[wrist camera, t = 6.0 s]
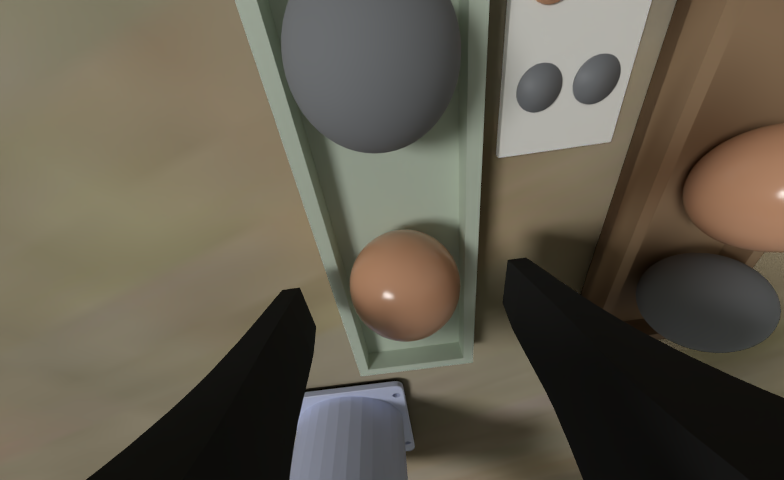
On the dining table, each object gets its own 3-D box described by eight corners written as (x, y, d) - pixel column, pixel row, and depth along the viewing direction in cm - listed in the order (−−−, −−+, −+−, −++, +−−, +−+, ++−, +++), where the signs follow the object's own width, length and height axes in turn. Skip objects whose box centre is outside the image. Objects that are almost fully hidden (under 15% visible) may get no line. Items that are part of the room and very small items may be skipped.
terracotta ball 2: (736, 208, 12) (879, 269, 8) (638, 221, 12) (740, 287, 9) (800, 102, 10) (1028, 128, 6) (678, 119, 10) (839, 155, 6)
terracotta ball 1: (447, 281, 13) (473, 358, 10) (362, 292, 13) (358, 372, 10) (445, 203, 11) (477, 268, 8) (343, 218, 11) (330, 289, 8)
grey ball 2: (683, 295, 15) (775, 367, 11) (604, 305, 15) (672, 379, 11) (723, 228, 12) (853, 293, 9) (630, 241, 12) (723, 310, 9)
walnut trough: (678, 312, 16) (704, 334, 15) (570, 325, 16) (587, 348, 15) (1034, -264, 6) (1205, -347, 5) (747, -214, 6) (839, -280, 5)
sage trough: (553, 327, 16) (567, 350, 15) (361, 351, 17) (360, 376, 15) (700, -206, 6) (781, -270, 5) (217, -121, 7) (180, -162, 5)
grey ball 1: (443, 123, 9) (481, 163, 6) (323, 141, 9) (295, 189, 6) (439, -44, 7) (494, -128, 4) (283, -18, 7) (204, -79, 4)
